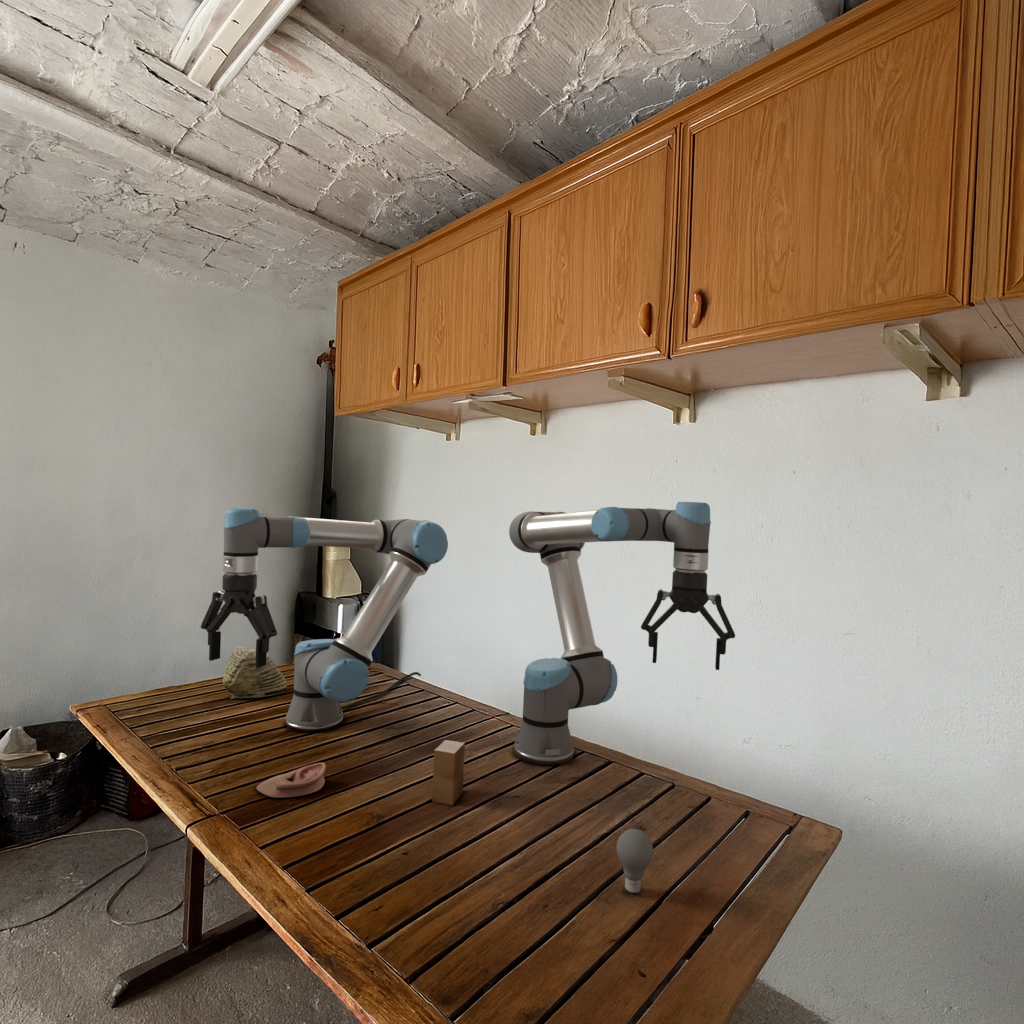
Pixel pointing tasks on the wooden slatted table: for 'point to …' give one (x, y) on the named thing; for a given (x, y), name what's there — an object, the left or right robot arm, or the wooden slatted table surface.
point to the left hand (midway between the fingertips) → (237, 663)
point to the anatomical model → (295, 782)
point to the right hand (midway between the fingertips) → (685, 665)
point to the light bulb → (634, 857)
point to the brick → (448, 772)
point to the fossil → (252, 676)
